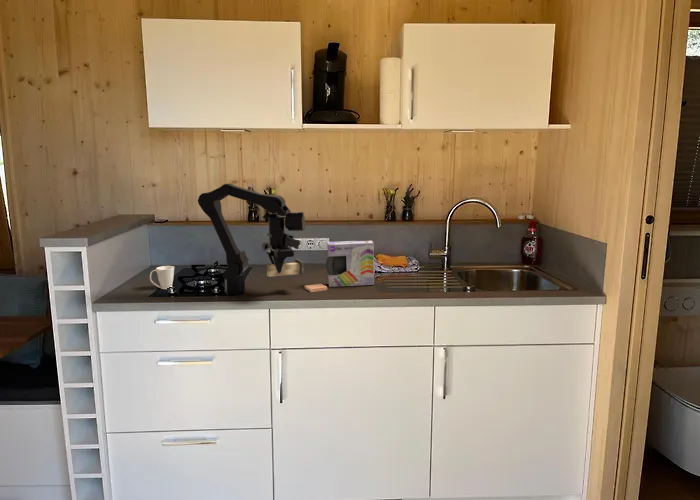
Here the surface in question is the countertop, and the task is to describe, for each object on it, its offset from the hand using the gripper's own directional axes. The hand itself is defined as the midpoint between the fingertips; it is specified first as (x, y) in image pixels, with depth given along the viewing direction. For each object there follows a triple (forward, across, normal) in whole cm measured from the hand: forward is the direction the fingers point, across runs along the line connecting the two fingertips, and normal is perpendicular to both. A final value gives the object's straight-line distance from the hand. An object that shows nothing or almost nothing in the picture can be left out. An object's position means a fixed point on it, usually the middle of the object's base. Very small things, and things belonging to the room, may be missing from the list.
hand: (277, 272), depth 186 cm
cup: (+9, +30, +37) cm, 48 cm away
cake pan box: (+9, 0, -30) cm, 31 cm away
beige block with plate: (+1, 0, -3) cm, 3 cm away
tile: (+8, 0, -12) cm, 14 cm away
